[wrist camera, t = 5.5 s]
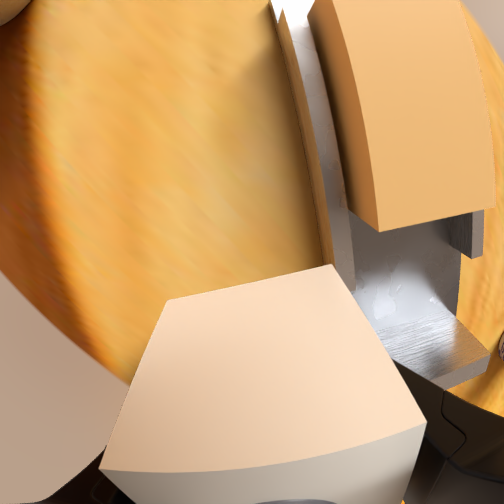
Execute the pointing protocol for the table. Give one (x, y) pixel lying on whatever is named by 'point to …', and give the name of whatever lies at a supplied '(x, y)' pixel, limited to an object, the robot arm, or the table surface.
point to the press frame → (383, 236)
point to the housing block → (266, 402)
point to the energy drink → (501, 348)
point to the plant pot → (11, 9)
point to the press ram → (405, 109)
